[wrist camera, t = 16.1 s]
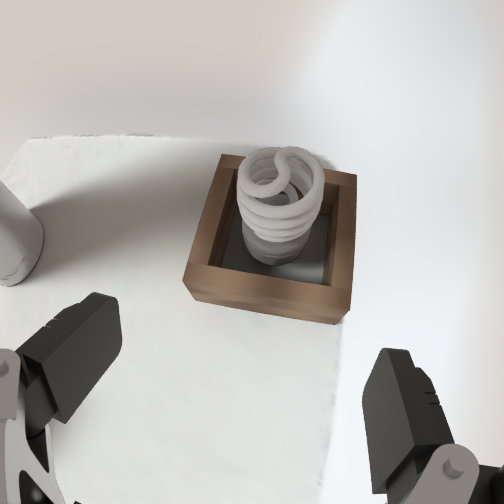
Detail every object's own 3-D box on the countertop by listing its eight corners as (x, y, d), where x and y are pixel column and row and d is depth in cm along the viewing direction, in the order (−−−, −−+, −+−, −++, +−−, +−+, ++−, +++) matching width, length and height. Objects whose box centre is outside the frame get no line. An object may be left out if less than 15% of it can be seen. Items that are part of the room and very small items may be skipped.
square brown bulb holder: (195, 300, 27) (182, 280, 22) (226, 186, 32) (221, 154, 27) (334, 324, 26) (349, 310, 21) (344, 205, 31) (356, 174, 26)
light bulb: (278, 293, 27) (292, 220, 16) (229, 254, 29) (213, 166, 18) (317, 247, 29) (347, 159, 18) (269, 213, 30) (274, 117, 20)
